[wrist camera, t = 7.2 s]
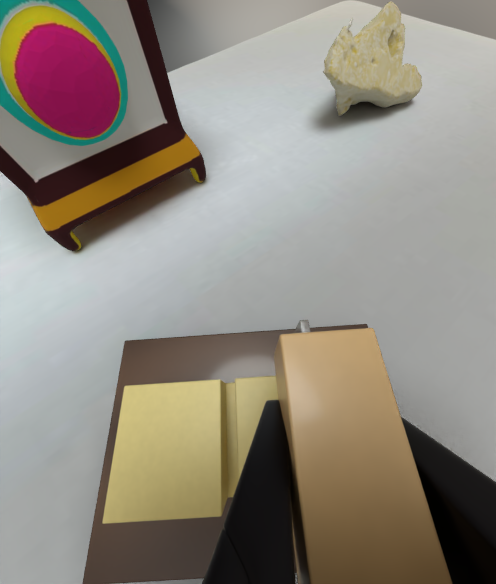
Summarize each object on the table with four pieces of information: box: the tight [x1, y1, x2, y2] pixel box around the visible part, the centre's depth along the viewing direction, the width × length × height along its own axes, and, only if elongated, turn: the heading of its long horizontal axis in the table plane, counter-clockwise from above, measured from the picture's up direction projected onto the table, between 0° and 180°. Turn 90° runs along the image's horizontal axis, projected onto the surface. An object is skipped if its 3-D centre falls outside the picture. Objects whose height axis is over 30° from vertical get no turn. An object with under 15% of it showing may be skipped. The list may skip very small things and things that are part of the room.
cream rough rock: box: [323, 2, 422, 116], centre depth 32 cm, size 15×7×15 cm
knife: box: [274, 320, 452, 584], centre depth 8 cm, size 8×2×9 cm, turn 3°
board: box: [83, 324, 368, 584], centre depth 17 cm, size 14×20×1 cm
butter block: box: [102, 376, 278, 524], centre depth 14 cm, size 6×9×4 cm, turn 93°
